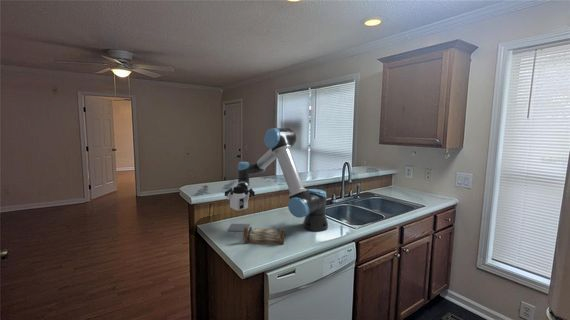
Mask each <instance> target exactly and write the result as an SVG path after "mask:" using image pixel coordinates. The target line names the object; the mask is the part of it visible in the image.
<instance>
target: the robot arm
mask: <svg viewBox="0 0 570 320" xmlns="http://www.w3.org/2000/svg"><path fill="white" fill-rule="evenodd" d="M263 140H264V141H263V142H264V145H265V146H266V148H268V149H269V150H267V151H266V152H265V153H264V154H263V155H262V156H261V157H260V158H259V159H258V160H257V161H256V162H254V163H249V161H239V162H238V165H237V173H238V174H237V185H236V186H243V187H244V188H245V195H247V200H248V201H249V200H250V198H252V197H255V196H256V195H255V193H256V192H255V190H253V188H252V187H251V188H249V187H250V185H251V184H250V183H251V182H250V176H252V175H258V174H262V173H264V172H266V169H267V167H268V166H270V165H271V164H272V163H273V162H274V161H275V160H277V161H278V164H279V166H280V169H281V172H282V174H283V177H284V180H285V183H286V185H287V189H288V191H289V195H288V199H289V201H288V204H287V207H288V211H289V212H290V214H291V215H292V216H293V217H296V218H300V219H301V218H304V220H303V222H302V223H303V224H302V225H303V226H302V228H304V229H306V230H307V231H313V232H323V231H326V230H328V228H329V222H328V219H327V216H326V211H327V191H326V192H325V191H323V190H324V189H323V190H318V189H319V188H308V189H307V188H305V187H304V186H305V185H304V184H303V181H302V179H301V176H300V173H299V171H298V168H297V166H296V162H295V161H294V158H293V154H292V152H291V148H292V147H293V146H294V145H295V144H296V141H297V134H296V132H295V131H294V129H292V128H288V127H274V128H269V129H268V130H267V131H266V132H265V135H264V139H263ZM230 195H233V188H232V187H230V188H229V189H227V190H226V191H224V197H226V198H227V200H229V201H230Z"/></svg>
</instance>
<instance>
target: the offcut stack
mask: <svg viewBox="0 0 570 320" xmlns="http://www.w3.org/2000/svg"><path fill="white" fill-rule="evenodd" d="M278 232H279V231H278V229H273V228H272V229H270V228H253V230H252V231H251V232H250V237H249V240H271V241H279V237H280V234H278Z"/></svg>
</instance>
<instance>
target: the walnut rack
mask: <svg viewBox="0 0 570 320" xmlns="http://www.w3.org/2000/svg"><path fill="white" fill-rule="evenodd" d="M250 232H253V227H252V226H249V228H248V227H245V228H244V232H243V244H276V245H277V244H279V245H281V246H283V245H284V244H285V228H284V227H282V228H280V236H279V241H271V240H249V237H250Z"/></svg>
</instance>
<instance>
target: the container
mask: <svg viewBox="0 0 570 320" xmlns="http://www.w3.org/2000/svg"><path fill="white" fill-rule="evenodd" d="M232 189H233V195H230V199H229V208H230V209H233V210H235V211H237V212H238V211H242V210H246V209H249V200H247V195H245V188H244V187H243V186H237V185H236V186H234V187H233V188H232Z"/></svg>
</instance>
